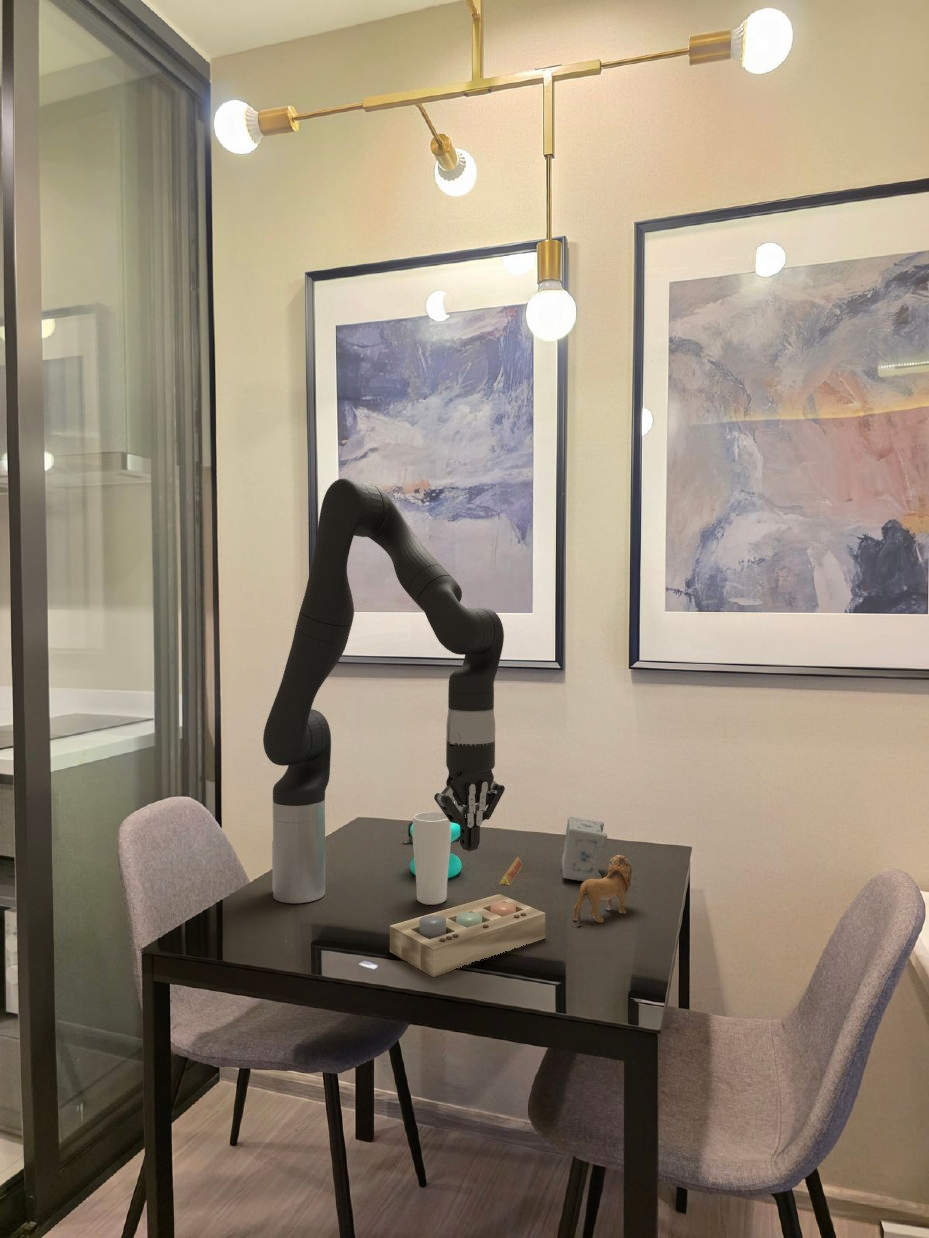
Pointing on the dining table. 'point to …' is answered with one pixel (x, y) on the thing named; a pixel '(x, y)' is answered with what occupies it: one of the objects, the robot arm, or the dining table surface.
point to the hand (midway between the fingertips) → (469, 849)
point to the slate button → (432, 926)
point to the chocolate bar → (512, 872)
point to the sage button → (468, 919)
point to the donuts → (453, 859)
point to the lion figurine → (606, 888)
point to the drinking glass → (431, 856)
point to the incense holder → (582, 849)
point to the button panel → (467, 936)
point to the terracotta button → (503, 908)
